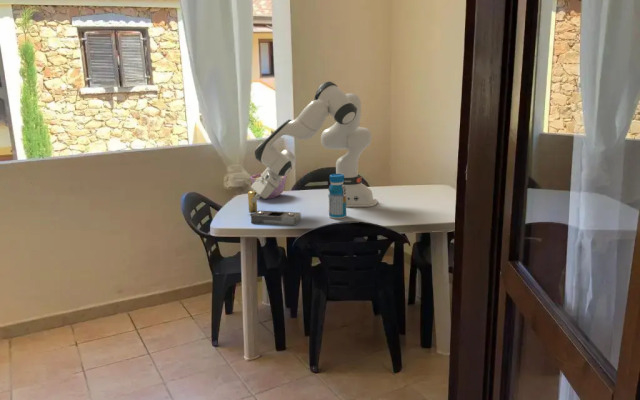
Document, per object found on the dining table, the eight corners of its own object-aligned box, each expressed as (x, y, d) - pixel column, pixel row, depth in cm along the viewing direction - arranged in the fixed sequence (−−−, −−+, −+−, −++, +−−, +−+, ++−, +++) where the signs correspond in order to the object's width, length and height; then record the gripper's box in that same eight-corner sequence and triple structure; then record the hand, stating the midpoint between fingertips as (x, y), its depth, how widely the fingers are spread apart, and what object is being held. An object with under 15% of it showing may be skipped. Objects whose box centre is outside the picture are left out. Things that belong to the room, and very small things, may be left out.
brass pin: (258, 211, 256) (257, 191, 253) (255, 213, 252) (254, 193, 250) (251, 210, 257) (249, 190, 254) (247, 212, 253) (246, 192, 251)
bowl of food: (294, 194, 292) (293, 174, 290) (273, 202, 276) (272, 181, 273) (266, 191, 303) (265, 171, 300) (244, 198, 287) (242, 178, 284)
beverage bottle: (333, 220, 240) (332, 177, 235) (326, 215, 247) (324, 174, 242) (349, 217, 243) (349, 175, 238) (341, 213, 250) (341, 172, 246)
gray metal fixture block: (300, 219, 242) (300, 211, 241) (294, 225, 233) (294, 216, 232) (259, 217, 248) (258, 209, 247) (251, 222, 239) (250, 214, 238)
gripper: (259, 170, 262) (241, 191, 261) (270, 178, 243) (250, 201, 242) (268, 178, 264) (251, 199, 264) (279, 186, 246) (260, 209, 245)
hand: (251, 200), depth 253 cm, fingers closed on brass pin, 4 cm apart
